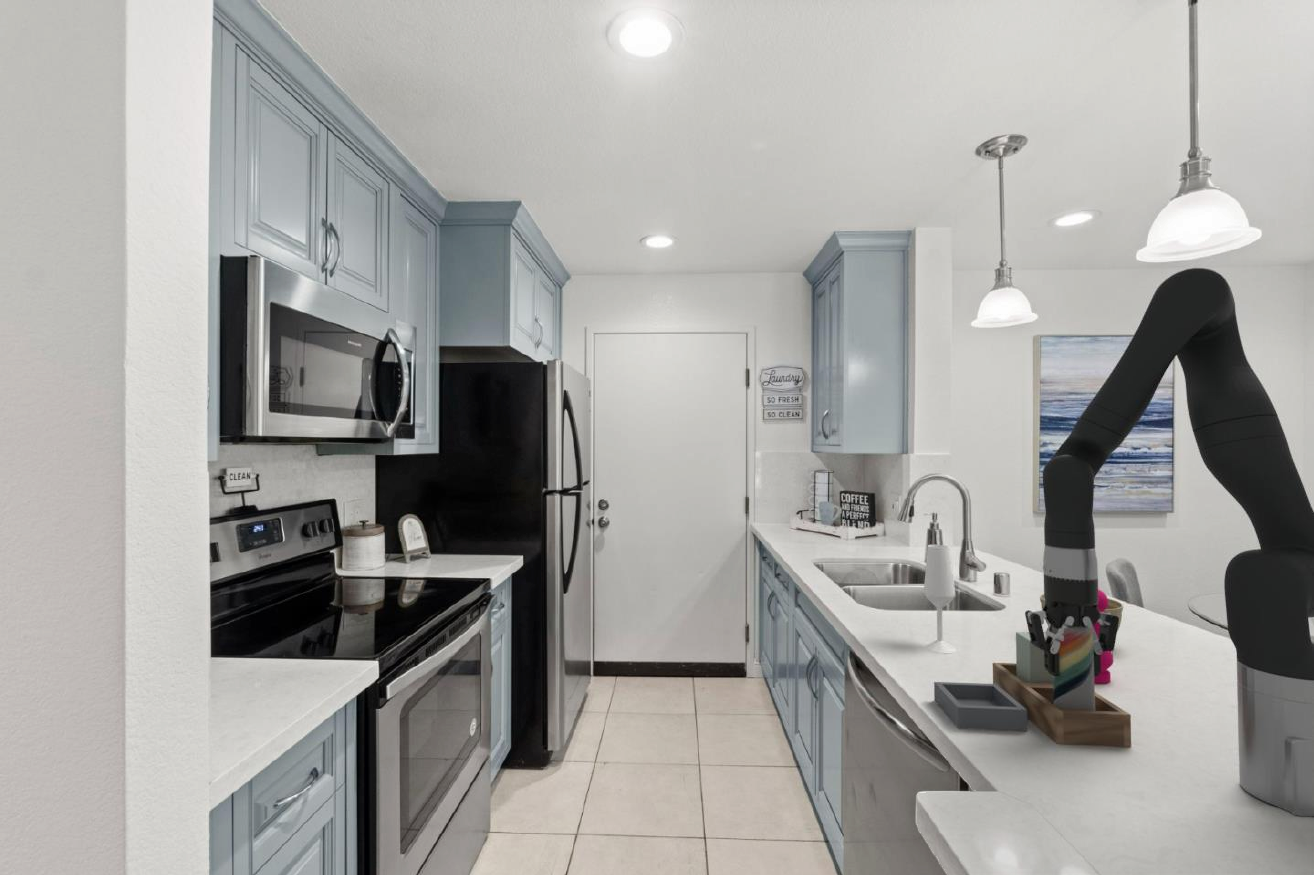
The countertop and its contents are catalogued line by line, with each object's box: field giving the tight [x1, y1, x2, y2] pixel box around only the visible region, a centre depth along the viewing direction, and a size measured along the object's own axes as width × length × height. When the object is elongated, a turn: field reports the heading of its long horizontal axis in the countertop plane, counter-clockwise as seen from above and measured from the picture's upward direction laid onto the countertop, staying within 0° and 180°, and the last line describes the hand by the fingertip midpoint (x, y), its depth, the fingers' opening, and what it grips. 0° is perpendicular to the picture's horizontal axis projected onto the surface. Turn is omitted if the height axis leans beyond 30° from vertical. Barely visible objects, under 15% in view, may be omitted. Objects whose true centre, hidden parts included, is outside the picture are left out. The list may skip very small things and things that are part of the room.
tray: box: [933, 681, 1028, 732], centre depth 105 cm, size 11×11×4 cm
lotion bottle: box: [1052, 605, 1096, 711], centre depth 100 cm, size 6×6×20 cm
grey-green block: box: [1015, 631, 1053, 684], centre depth 111 cm, size 5×5×12 cm
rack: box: [992, 662, 1132, 748], centre depth 105 cm, size 22×11×5 cm, turn 174°
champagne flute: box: [923, 544, 957, 654], centre depth 140 cm, size 7×7×24 cm
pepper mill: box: [1093, 588, 1114, 685], centre depth 122 cm, size 7×7×20 cm
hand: (1072, 674), depth 99 cm, fingers closed on lotion bottle, 5 cm apart
